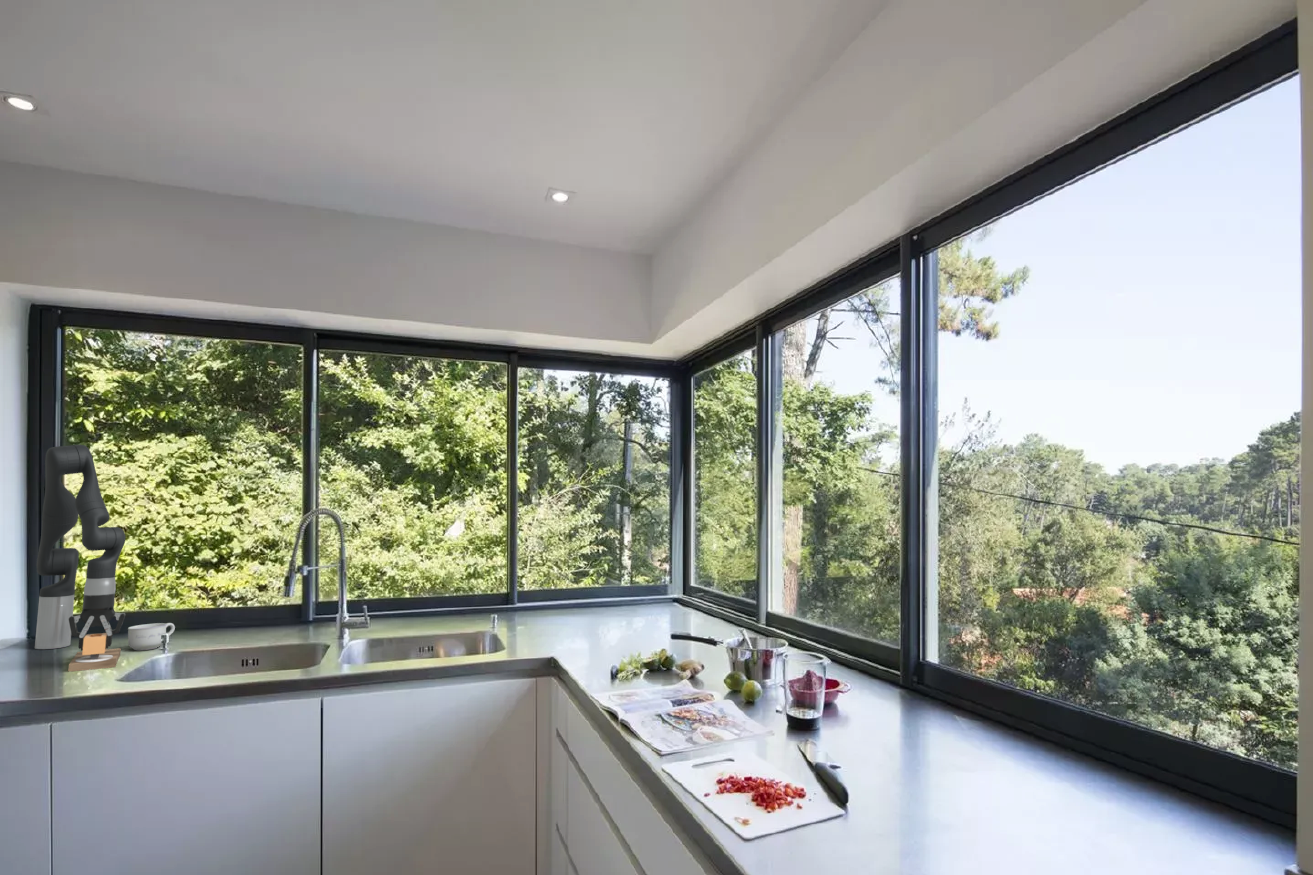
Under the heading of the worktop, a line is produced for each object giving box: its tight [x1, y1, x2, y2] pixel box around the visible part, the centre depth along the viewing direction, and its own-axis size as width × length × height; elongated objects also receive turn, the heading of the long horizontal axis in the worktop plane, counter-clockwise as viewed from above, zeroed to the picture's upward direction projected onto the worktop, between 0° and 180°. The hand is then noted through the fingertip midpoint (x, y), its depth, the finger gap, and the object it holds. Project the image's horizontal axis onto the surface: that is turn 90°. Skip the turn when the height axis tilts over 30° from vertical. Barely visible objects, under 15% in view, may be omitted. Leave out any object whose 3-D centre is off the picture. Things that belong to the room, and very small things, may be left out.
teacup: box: [127, 622, 176, 651], centre depth 240 cm, size 14×11×8 cm
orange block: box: [82, 632, 107, 655], centre depth 214 cm, size 7×5×5 cm
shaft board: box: [67, 647, 122, 672], centre depth 218 cm, size 20×11×5 cm, turn 34°
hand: (94, 648), depth 214 cm, fingers closed on orange block, 5 cm apart
